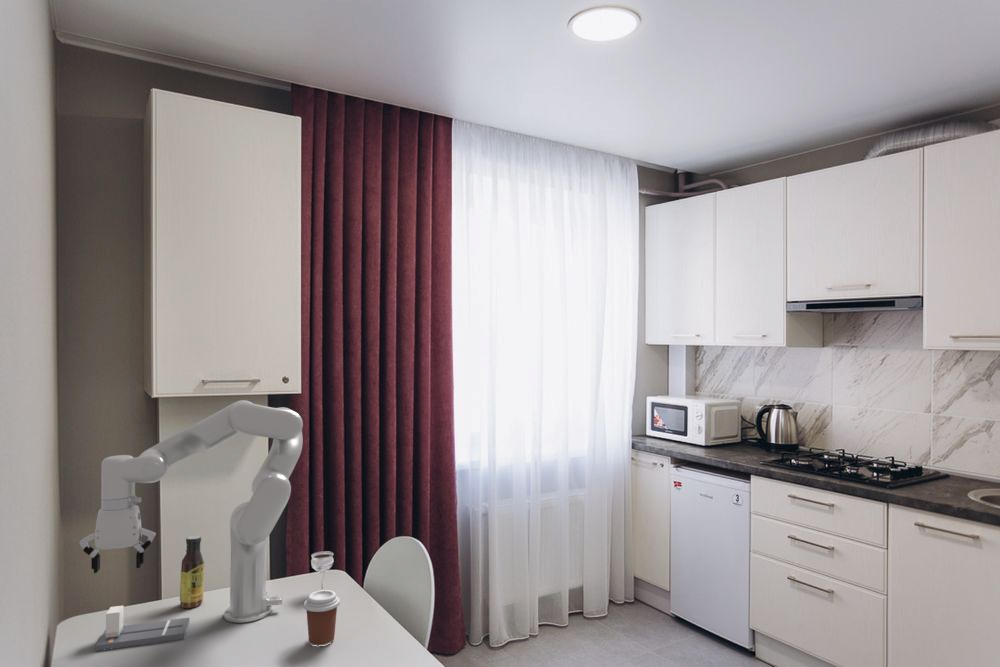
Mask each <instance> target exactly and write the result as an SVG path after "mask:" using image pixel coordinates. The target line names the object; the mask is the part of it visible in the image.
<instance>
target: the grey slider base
mask: <svg viewBox="0 0 1000 667" xmlns="http://www.w3.org/2000/svg"><path fill="white" fill-rule="evenodd" d="M190 620H191V618H190V617H183V618H175V619H168V620H167V619H165V620H159V621H151V622H150V621H149V622H144V623H137V624H136V623H135V624H128V625H124V628H123V630H122V631H121V633H120V635H119V636H116V637H109V638H105V634H106V629H105V630H104V631H103V633H102V635H101V636H100V638H99V640H98V641H97V643H96V644H95V652H98V651H97V650H102V651H105V650H104V649H109V650H112V649H111V648H116V649H121V648H120V647H123V648H128V646H130V647H137V645H138V646H143V645H151V644H157V643H165V642H171V641H180V640H179V639H181V640H185V638H184V637H186V635H185V634H187V632H186V631H188V629H187V628H189V626H188V625H190V623H191V622H190ZM189 622H190V623H189ZM118 647H119V648H118Z"/></svg>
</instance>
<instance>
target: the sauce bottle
mask: <svg viewBox="0 0 1000 667" xmlns="http://www.w3.org/2000/svg"><path fill="white" fill-rule="evenodd" d="M185 538H186V539H185V542H186V543H185V544H186V550H185V553H186V554H185V555H184V557H183V558H182V559H181V568H180V582H179V583H180V585H179V587H180V589H179V594H180V595H179V601H180V604H179V606H180V607H181V608H183V609H192V608H196V607H199V606H201V605H202V603H203V600H204V589H205V588H204V586H205V585H204V584H205V583H204V582H205V562H204V559H203V555H202V552H201V542H202V536H201V535H191V536H190V535H189V536H186V537H185Z"/></svg>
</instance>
